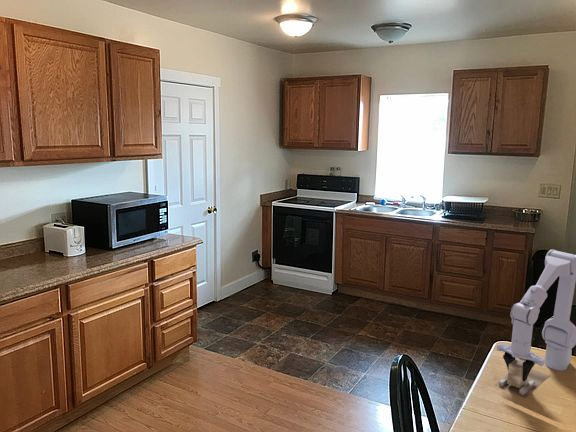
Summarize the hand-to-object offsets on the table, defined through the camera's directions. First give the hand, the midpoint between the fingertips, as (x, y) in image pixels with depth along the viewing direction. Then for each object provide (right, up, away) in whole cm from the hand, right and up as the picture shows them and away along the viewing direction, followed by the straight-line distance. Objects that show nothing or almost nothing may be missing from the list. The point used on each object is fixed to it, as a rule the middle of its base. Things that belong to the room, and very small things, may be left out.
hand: (517, 377), depth 158 cm
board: (+3, -3, +4) cm, 6 cm away
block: (0, -2, 0) cm, 2 cm away
